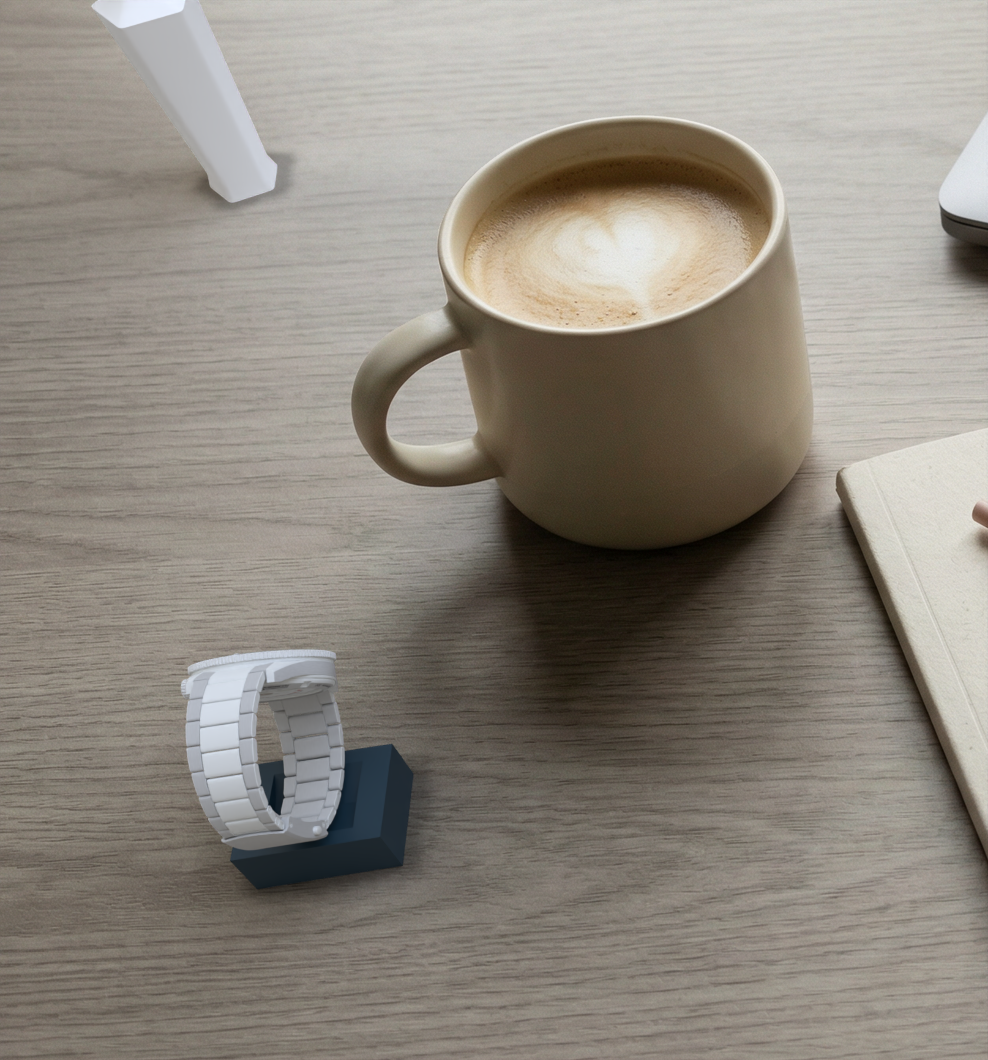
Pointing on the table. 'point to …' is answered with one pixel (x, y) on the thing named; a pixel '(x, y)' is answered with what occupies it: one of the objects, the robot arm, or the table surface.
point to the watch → (291, 771)
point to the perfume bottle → (193, 89)
